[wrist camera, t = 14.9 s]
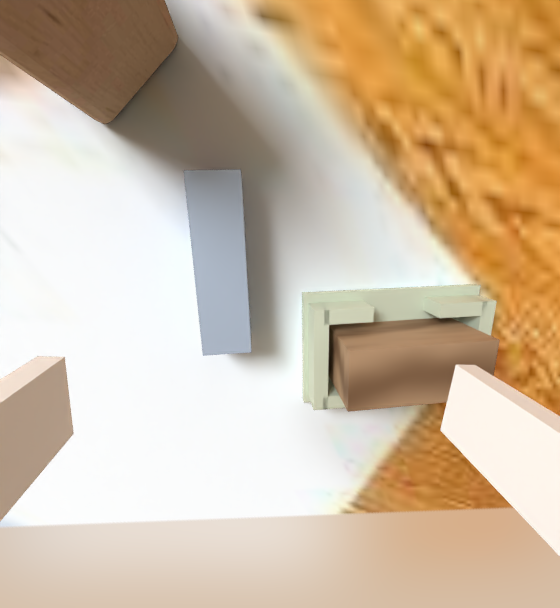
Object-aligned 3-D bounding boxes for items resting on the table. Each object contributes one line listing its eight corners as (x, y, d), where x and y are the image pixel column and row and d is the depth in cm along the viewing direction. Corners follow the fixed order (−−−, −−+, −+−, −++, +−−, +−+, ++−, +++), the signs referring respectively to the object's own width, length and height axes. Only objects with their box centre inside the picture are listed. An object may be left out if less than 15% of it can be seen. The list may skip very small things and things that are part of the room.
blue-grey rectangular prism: (194, 179, 28) (183, 170, 24) (241, 178, 29) (240, 169, 24) (209, 336, 33) (202, 355, 28) (251, 333, 33) (251, 352, 28)
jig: (302, 292, 32) (309, 301, 28) (475, 284, 34) (502, 291, 30) (302, 398, 35) (309, 418, 32) (460, 385, 37) (483, 403, 34)
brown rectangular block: (328, 325, 32) (349, 351, 26) (449, 316, 34) (499, 339, 27) (328, 374, 34) (347, 411, 27) (443, 365, 35) (489, 398, 29)
